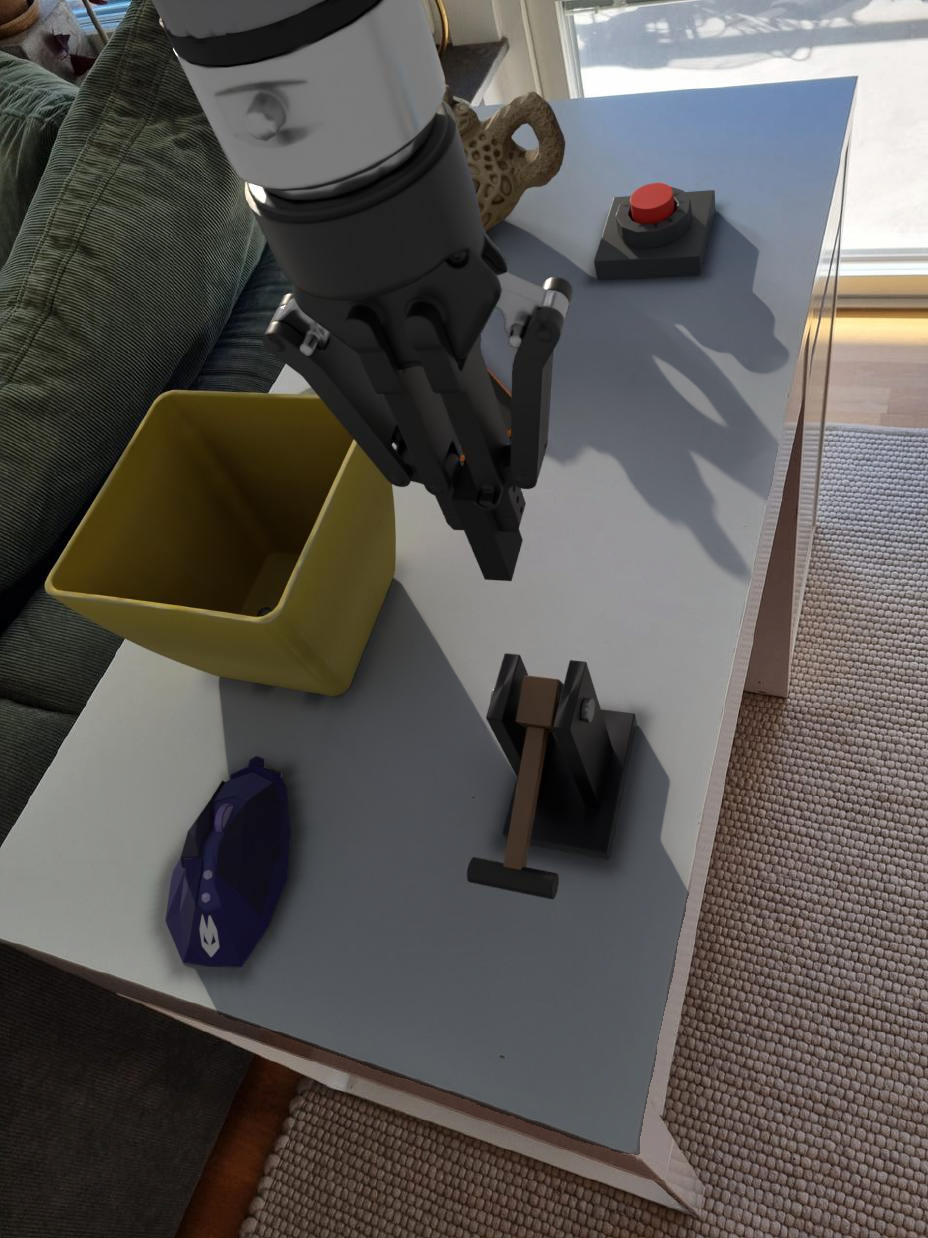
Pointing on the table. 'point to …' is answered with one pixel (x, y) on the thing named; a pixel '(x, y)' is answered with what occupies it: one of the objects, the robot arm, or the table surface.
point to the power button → (652, 203)
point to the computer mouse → (231, 869)
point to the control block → (656, 239)
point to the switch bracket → (568, 760)
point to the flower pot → (238, 541)
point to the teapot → (508, 152)
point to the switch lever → (525, 797)
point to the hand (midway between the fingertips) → (503, 559)
